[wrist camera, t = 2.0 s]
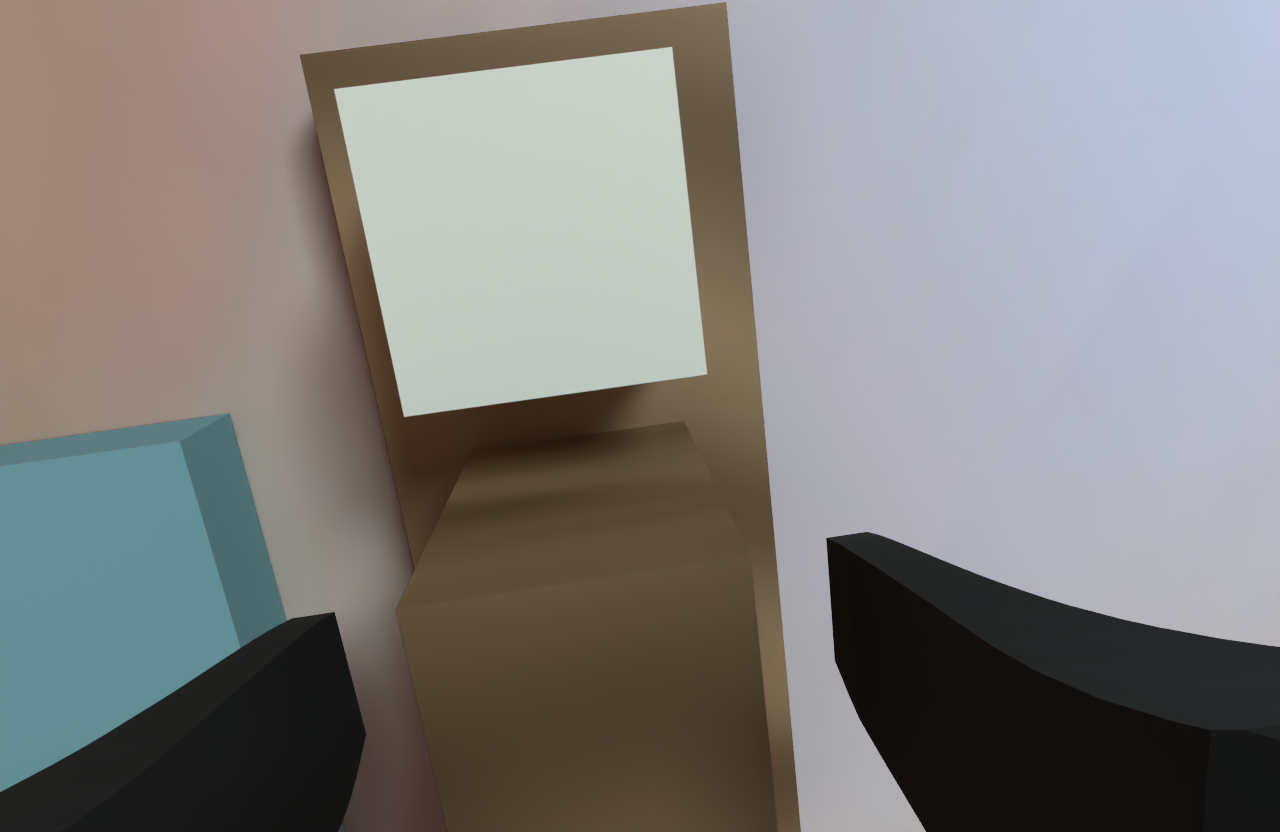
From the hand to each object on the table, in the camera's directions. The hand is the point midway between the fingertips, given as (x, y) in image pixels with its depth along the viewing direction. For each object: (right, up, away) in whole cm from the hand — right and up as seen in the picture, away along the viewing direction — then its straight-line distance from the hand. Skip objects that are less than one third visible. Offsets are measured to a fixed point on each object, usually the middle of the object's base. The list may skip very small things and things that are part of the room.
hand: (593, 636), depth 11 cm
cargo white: (-1, +6, +2) cm, 7 cm away
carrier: (0, +1, +6) cm, 6 cm away
